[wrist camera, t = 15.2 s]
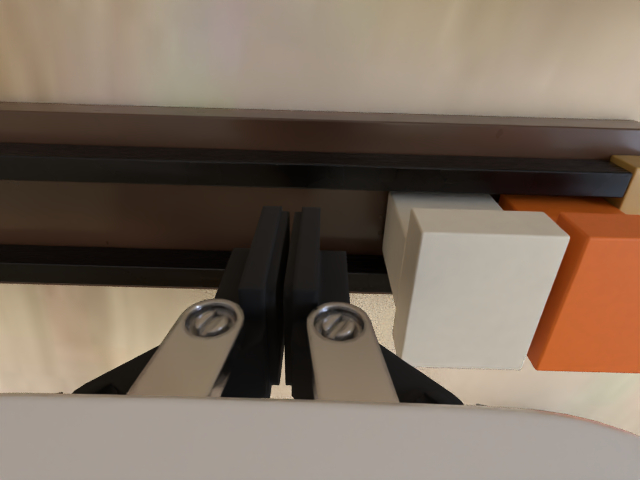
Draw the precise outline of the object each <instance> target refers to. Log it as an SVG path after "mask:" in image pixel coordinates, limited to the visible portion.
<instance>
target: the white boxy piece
mask: <svg viewBox="0 0 640 480" xmlns="http://www.w3.org/2000/svg"><path fill="white" fill-rule="evenodd" d="M569 240H570V236H569V235H568V234H567V233H566V232H565V231H564V230H562V229H561V228H560V227H559V226H558V225H557V224H556V223H555V222H554V221H553V220H552V219H551V218H550V217H548V216H547V215H546V214H545V213H544V212H532V211H503V209H502V208H501V207H500V206H499V205H498V204H497V203H496V202H495V200H494V199H493V198H492V197H491V196H490V195H489V194H470V193H435V192H400V191H390V192H389V195H388V204H387V212H386V221H385V229H384V238H383V246H382V251H383V255H384V260H385V264H386V268H387V272H388V277H389V281H390V285H391V289H392V294H393V298H394V302H395V306H396V312H395V319H394V326H393V333H392V334H393V339H394V344H395V349H396V354H397V356H398V357H399V358H401V359H402V360H404V361H405V362H407V363H408V364H410V365H411V366H413V367H426V368H462V369H498V370H521V368H522V366H523V363H524V360H525V358H526V355H527V352H528V350H529V347H530V344H531V342H532V339H533V336H534V334H535V331H536V328H537V326H538V323H539V320H540V317H541V315H542V312H543V309H544V307H545V304H546V301H547V299H548V296H549V293H550V291H551V288H552V285H553V283H554V280H555V277H556V275H557V272H558V269H559V267H560V264H561V261H562V259H563V256H564V253H565V251H566V248H567V245H568V243H569Z"/></svg>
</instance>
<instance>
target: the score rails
mask: <svg viewBox="0 0 640 480" xmlns="http://www.w3.org/2000/svg"><path fill="white" fill-rule="evenodd" d="M0 180H18V181H52V182H87V183H122V184H157V185H192V186H226V187H261V188H296V189H331V190H366V191H400V192H435V193H470V194H505V195H539V196H574V197H601V198H603V199H604V200H606V201H607V202H609V203H610V204H612V205H613V206H615V207H616V208H618V209H619V210H621V211H622V212H623V213H625V214H630V215H640V156H629V155H612V156H611V158H610V161H609V160H584V159H549V158H515V157H480V156H446V155H411V154H377V153H342V152H307V151H273V150H238V149H204V148H169V147H135V146H100V145H66V144H31V143H0ZM231 253H232V251H217V250H182V249H147V248H112V247H76V246H41V245H6V244H0V282H21V283H56V284H91V285H127V286H162V287H198V288H219V285H220V282H221V280H222V277H223V274H224V272H225V269H226V266H227V264H228V261H229V258H230V255H231ZM346 257H347V270H348V284H349V292H375V293H392V289H391V285H390V281H389V277H388V272H387V268H386V264H385V260H384V255H358V254H346Z"/></svg>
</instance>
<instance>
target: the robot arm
mask: <svg viewBox="0 0 640 480" xmlns="http://www.w3.org/2000/svg"><path fill="white" fill-rule="evenodd" d="M320 212H321V207H302V212H295V214H294V220H293V227H292V234H291V241H290V214H289V211H283V208H282V206H263V208H262V211H261V215H260V218H259V221H258V224H257V228H256V231H255V234H254V238H253V241H252V244H251V247H250V248H234V249H233V250H232V253H231V255H230V258H229V261H228V264H227V266H226V269H225V272H224V274H223V277H222V280H221V282H220V285H219V288H218V290H217V293H216V296H215V298H214V299H208V300H203V301H200V302H198V303H195V304H193V305H192V306H190V307H189V308H187V309H186V310H185V311H184V312H183V313H182V314H181V315H180V317H179V318H178V320H177V321H176V323H175V324H174V325H173V327H172V328H171V330H170V331H169V333H168V334H167V336H166V337H165V339H164V340H163V341H162V343H161V344H160V345H159V346H157V347H155V348H153V349H151V350H149V351H147V352H145V353H144V354H142V355H140V356H138V357H136V358H134V359H132V360H130V361H128V362H126V363H124V364H122V365H121V366H119V367H117V368H115V369H113V370H111V371H109V372H107V373H105V374H103V375H101V376H99V377H98V378H96V379H94V380H92V381H90V382H88V383H86V384H84V385H83V386H81V387H80V388H78V389H77V390H75V391H74V392H73V393H72V394H63V392H60V393H0V480H640V436H638V435H636V434H633V433H631V432H628V431H625V430H622V429H619V428H616V427H613V426H610V425H607V424H604V423H601V422H598V421H594V420H590V419H585V418H581V417H577V416H572V415H568V414H562V413H555V412H548V411H541V410H534V409H519V408H505V407H490V406H485V405H481V404H476V405H464V404H463V403H462V401H460V400H459V399H458V398H457V397H456V396H455V395H453V394H452V393H451V392H449V391H448V390H446V389H445V388H443V387H442V386H441V385H439V384H438V383H436V382H435V381H433V380H432V379H430V378H429V377H427V376H426V375H424V374H423V373H421V372H420V371H418V370H417V369H416V368H414V367H413V366H411V365H410V364H408V363H407V362H405V361H404V360H402V359H401V358H399V357H398V356H396V355H395V354H394V353H392V352H391V351H389V350H388V349H386V348H385V347H383V346H382V345H380V344H379V343H378V340H377V337H376V334H375V332H374V329H373V326H372V323H371V320H370V319H369V317H368V315H367V314H366V313H365V312H364V311H363V310H362V309H361V308H359V307H357V306H355V305H353V304H350V297H349V284H348V270H347V257H346V251H330V250H319V248H320ZM284 345H285V381H286V385H292V397H294V399H269V398H270V394H271V387H272V385H279V384H280V377H281V369H282V360H283V352H284Z"/></svg>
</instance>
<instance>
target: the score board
mask: <svg viewBox="0 0 640 480" xmlns="http://www.w3.org/2000/svg"><path fill="white" fill-rule="evenodd" d="M0 143H31V144H66V145H100V146H135V147H169V148H204V149H238V150H273V151H307V152H342V153H377V154H411V155H446V156H480V157H515V158H549V159H584V160H609V161H610V158H611V156H612V155H629V156H640V122H637V121H634V120H600V119H566V118H532V117H497V116H463V115H429V114H394V113H360V112H326V111H291V110H257V109H223V108H188V107H154V106H120V105H85V104H51V103H17V102H0ZM389 192H390V191H366V190H331V189H296V188H261V187H226V186H192V185H157V184H122V183H87V182H52V181H18V180H0V244H6V245H41V246H76V247H112V248H147V249H182V250H217V251H232V250H233V249H234V248H250V247H251V244H252V241H253V238H254V234H255V231H256V228H257V224H258V221H259V218H260V215H261V211H262V208H263V206H282V208H283V211H289V214H290V241H291V234H292V227H293V220H294V214H295V212H302V207H321V212H320V248H319V250H330V251H346V254H358V255H383V251H382V246H383V238H384V229H385V221H386V212H387V204H388V195H389ZM489 195H490V196H491V197H492V198H493V199H494V200H495V202H496V203H497V204H498V203H499V199H500V195H501V194H489ZM0 283H7V284H43V285H78V286H113V287H149V288H184V289H218V288H198V287H162V286H127V285H91V284H56V283H21V282H0ZM349 293H361V294H392V293H375V292H349Z"/></svg>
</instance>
